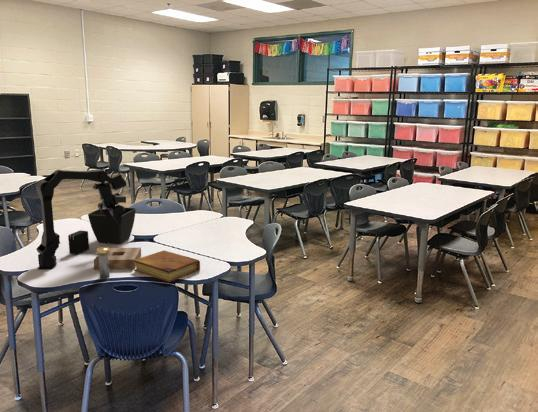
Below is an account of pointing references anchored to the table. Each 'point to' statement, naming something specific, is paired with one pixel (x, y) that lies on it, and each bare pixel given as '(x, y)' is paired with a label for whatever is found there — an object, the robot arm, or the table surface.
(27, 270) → the table surface
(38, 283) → the table surface
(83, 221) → the table surface
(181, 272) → the diary
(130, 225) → the flower pot
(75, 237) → the electronic device
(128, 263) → the socket block
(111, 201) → the robot arm
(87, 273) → the table surface
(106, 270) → the pin
